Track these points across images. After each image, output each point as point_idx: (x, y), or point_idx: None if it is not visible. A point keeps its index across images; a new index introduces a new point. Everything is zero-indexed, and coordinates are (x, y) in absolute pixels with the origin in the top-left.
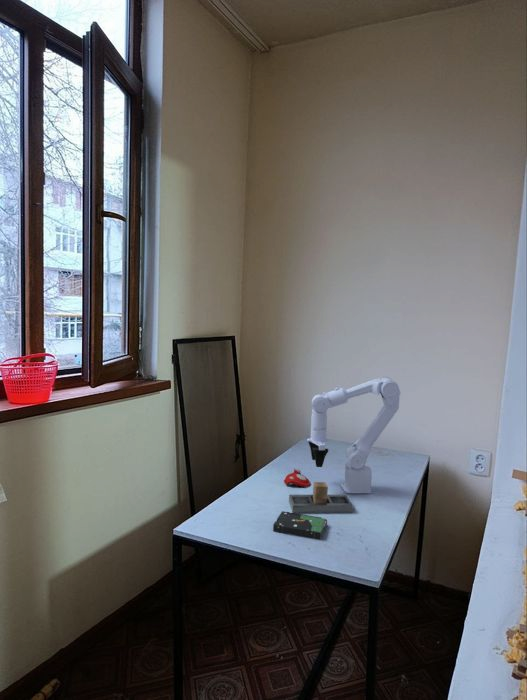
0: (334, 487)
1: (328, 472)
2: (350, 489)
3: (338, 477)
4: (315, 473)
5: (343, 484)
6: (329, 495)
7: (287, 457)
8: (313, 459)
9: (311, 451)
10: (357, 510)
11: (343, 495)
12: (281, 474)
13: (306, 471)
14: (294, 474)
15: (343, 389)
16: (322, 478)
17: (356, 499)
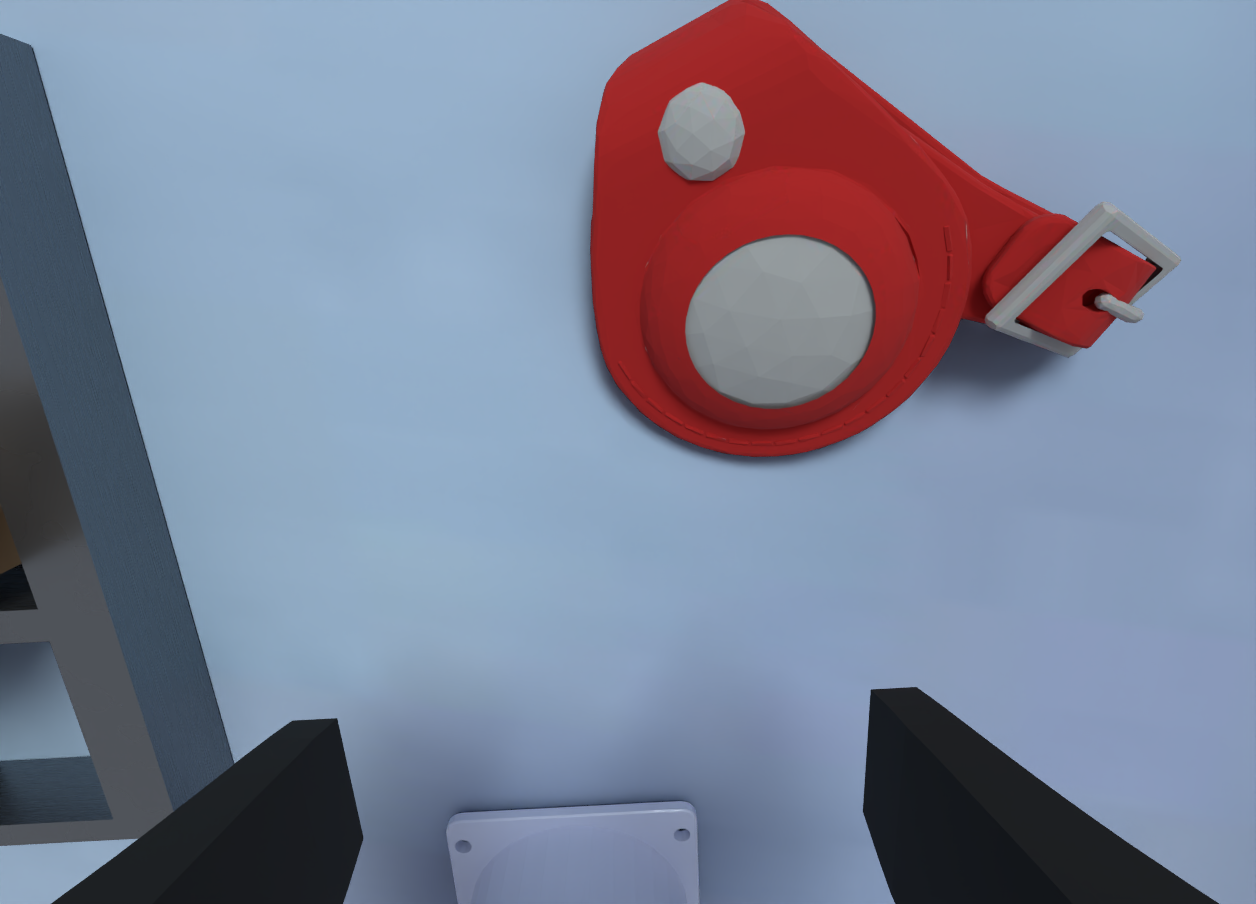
0: (634, 721)
1: (1135, 728)
2: (482, 883)
3: None
4: (1129, 569)
5: (690, 830)
6: (88, 650)
7: None
8: (878, 721)
9: (1064, 897)
10: None
11: (139, 808)
12: (1183, 17)
13: (1231, 457)
14: (836, 200)
15: None
16: (936, 631)
17: None
